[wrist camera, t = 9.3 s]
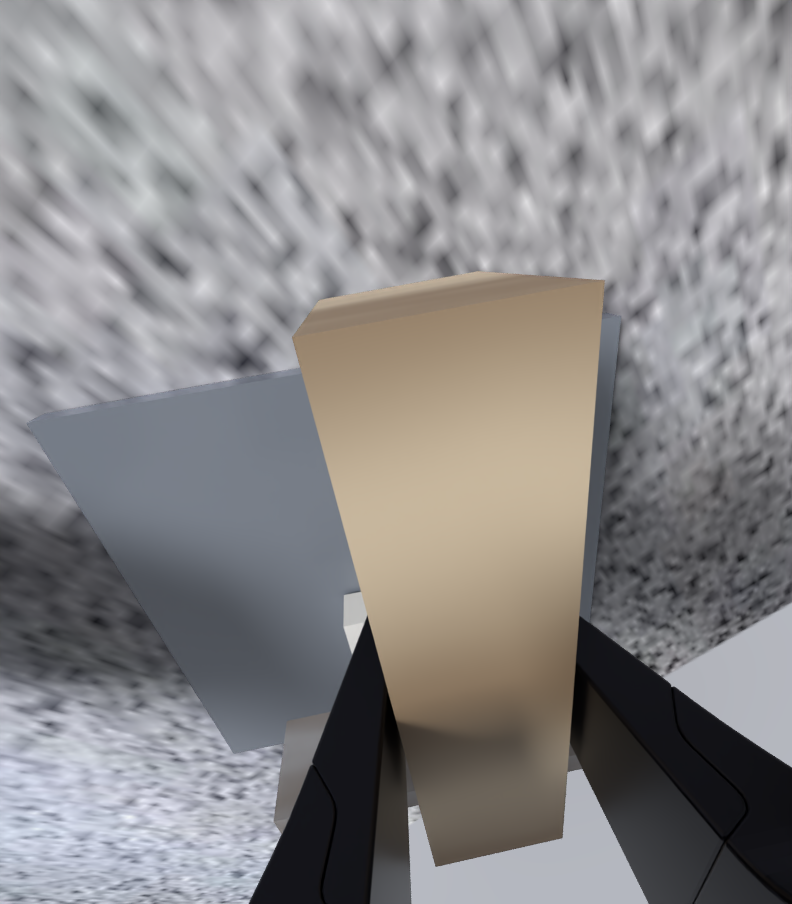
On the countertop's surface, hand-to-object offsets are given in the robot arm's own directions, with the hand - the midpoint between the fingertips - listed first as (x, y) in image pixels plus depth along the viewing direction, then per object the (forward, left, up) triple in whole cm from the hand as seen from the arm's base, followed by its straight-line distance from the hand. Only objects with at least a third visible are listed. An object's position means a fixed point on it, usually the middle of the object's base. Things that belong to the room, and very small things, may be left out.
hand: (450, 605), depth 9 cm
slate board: (-2, -4, -6) cm, 8 cm away
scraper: (0, +1, -1) cm, 2 cm away
